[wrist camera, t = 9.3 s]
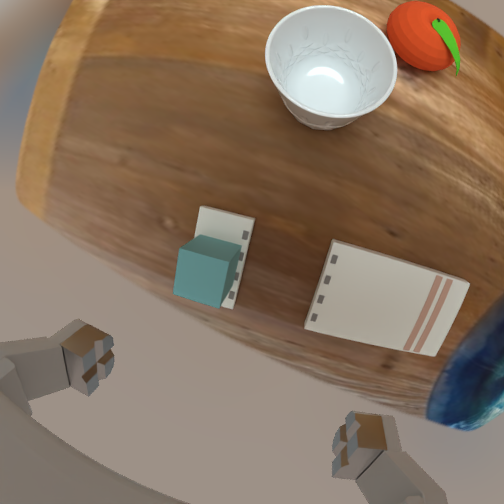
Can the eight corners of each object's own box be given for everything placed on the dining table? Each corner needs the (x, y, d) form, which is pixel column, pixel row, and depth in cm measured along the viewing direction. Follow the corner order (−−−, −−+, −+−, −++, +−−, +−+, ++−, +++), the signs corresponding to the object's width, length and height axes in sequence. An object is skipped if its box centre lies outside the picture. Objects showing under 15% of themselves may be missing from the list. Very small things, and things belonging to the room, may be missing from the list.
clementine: (458, 78, 20) (494, 59, 13) (410, 98, 22) (442, 79, 15) (415, 14, 19) (440, -17, 12) (365, 30, 20) (381, -6, 14)
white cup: (340, 47, 22) (356, -7, 12) (378, 120, 23) (419, 96, 13) (263, 75, 23) (243, 29, 14) (300, 150, 25) (301, 138, 15)
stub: (255, 218, 27) (243, 231, 21) (234, 305, 30) (219, 335, 24) (203, 205, 27) (178, 214, 22) (188, 290, 30) (164, 317, 24)
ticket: (464, 279, 25) (470, 284, 24) (431, 350, 28) (435, 357, 27) (332, 238, 27) (333, 242, 25) (304, 322, 29) (304, 329, 28)
